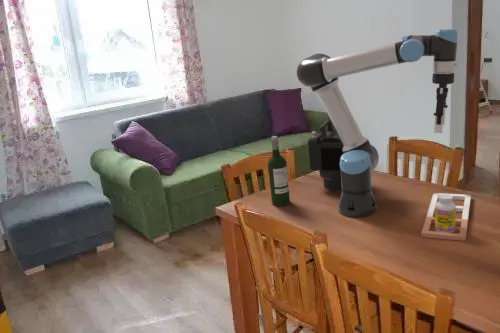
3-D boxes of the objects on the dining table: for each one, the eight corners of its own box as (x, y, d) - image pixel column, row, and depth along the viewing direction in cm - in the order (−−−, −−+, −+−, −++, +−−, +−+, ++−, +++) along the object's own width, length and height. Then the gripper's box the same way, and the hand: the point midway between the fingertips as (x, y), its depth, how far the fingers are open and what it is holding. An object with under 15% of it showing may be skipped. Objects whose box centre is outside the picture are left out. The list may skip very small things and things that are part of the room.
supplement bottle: (434, 233, 170) (434, 199, 166) (435, 225, 176) (435, 192, 172) (455, 234, 167) (455, 200, 163) (455, 226, 173) (455, 193, 169)
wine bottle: (281, 207, 208) (274, 140, 199) (268, 203, 213) (261, 138, 204) (293, 201, 212) (287, 135, 203) (281, 198, 218) (274, 133, 209)
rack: (433, 196, 201) (433, 192, 200) (470, 198, 195) (470, 194, 194) (421, 236, 169) (421, 232, 168) (465, 240, 162) (465, 236, 162)
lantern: (350, 191, 216) (346, 126, 207) (311, 190, 223) (306, 126, 214) (356, 180, 229) (353, 118, 220) (319, 179, 236) (314, 118, 227)
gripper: (453, 77, 167) (448, 136, 173) (456, 68, 189) (451, 122, 195) (429, 76, 170) (426, 135, 176) (435, 68, 192) (431, 121, 198)
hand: (439, 128), depth 186 cm, fingers open, 13 cm apart
